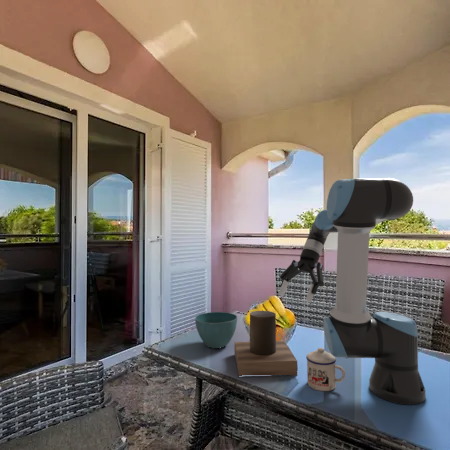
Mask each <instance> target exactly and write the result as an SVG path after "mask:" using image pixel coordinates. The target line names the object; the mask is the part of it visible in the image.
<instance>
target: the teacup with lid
mask: <svg viewBox="0 0 450 450" xmlns="http://www.w3.org/2000/svg"><path fill="white" fill-rule="evenodd" d="M306 362H307V363H306V365H307V367H306V369H307V371H306V372H307V374H306V375H307V378H306V379H307V385H308V386H309V387H310V388H312V389H313V390H316V391H319V392H329V391H330V392H331V391H333V390H334V389H335V388H336V386H337V385H336V383H341V382H343V381H344V379H345V378H346V370H345V369H344V368H343V367H342V366H341V365H338V364H337V365H336V362H337V358H336V357H335V356H333V355H332V354H331V352H328V351H326V350H325V349H324V348H323V347H317V350H314V351H311V352H308V353H307V355H306ZM336 369H338V370H340V372H341V374H342V376H341V378H336Z"/></svg>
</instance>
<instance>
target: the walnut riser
mask: <svg viewBox="0 0 450 450" xmlns="http://www.w3.org/2000/svg"><path fill="white" fill-rule="evenodd" d="M285 341H286V340H276V352H275V353H274V354H271V355H257V354H254V353H252V352H251V351H250V341H234V344H233V346H234V359H235V358H236V360H235V364H236V363H237V365H236V369H237V368H238V370H237V374H239V375H238V377H239V376H242V375H291V376H290V377H293V376H295V375H297V376H298V360H297V358H296V356H295V355H294V354H293V352H292V350H291V349H290V347H289V346H288V345H287V343H286V342H285ZM292 375H293V376H292Z"/></svg>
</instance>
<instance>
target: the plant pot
mask: <svg viewBox="0 0 450 450" xmlns="http://www.w3.org/2000/svg"><path fill="white" fill-rule="evenodd" d="M194 320H195V321H194V322H195V327H196V330H197V333H198V335H199V338H200V340H202V342H203V343H204V345H205V346H206V347H207V346H208V348H209V347H212V348H211V349H213V348H219V349H221V348H220V347H224V346H225V347H227V346H228V344H229V343H230V342H231V340H232V338H233V336H234V334H235V332H236V330H237V323H238V316H237V315H236V314H235V313H231V312H226V311H225V312H223V311H210V312H204V313H201V314H197V315H196V316H195V318H194ZM226 345H227V346H226ZM225 347H224V348H225Z"/></svg>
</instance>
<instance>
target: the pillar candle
mask: <svg viewBox="0 0 450 450" xmlns="http://www.w3.org/2000/svg"><path fill="white" fill-rule="evenodd" d="M276 317H277V314H276V313H275V312H273V311H270V310H269V311H268V310H263V309H261V310H255V311H254V310H253V311H251V312H249V342H250V351H251V352H252V353H254V354H257V355H271V354H274V353H275V352H276V341H277V319H276Z"/></svg>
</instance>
